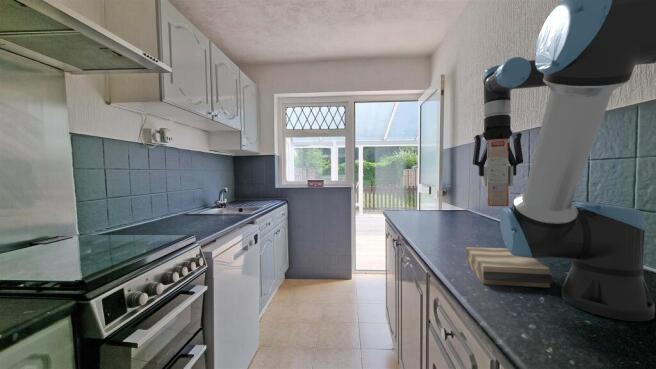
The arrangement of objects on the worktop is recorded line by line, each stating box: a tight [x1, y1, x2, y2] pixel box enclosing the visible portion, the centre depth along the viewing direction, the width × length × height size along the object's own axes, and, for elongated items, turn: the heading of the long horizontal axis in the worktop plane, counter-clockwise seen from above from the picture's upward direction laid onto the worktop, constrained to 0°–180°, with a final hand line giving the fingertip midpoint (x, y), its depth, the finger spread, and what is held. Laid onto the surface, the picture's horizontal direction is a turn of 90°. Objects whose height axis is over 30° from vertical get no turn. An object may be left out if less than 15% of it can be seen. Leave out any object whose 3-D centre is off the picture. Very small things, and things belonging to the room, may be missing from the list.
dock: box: [465, 246, 553, 289], centre depth 86 cm, size 20×16×5 cm
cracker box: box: [486, 139, 509, 207], centre depth 95 cm, size 14×6×21 cm, turn 151°
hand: (497, 185), depth 95 cm, fingers closed on cracker box, 7 cm apart
